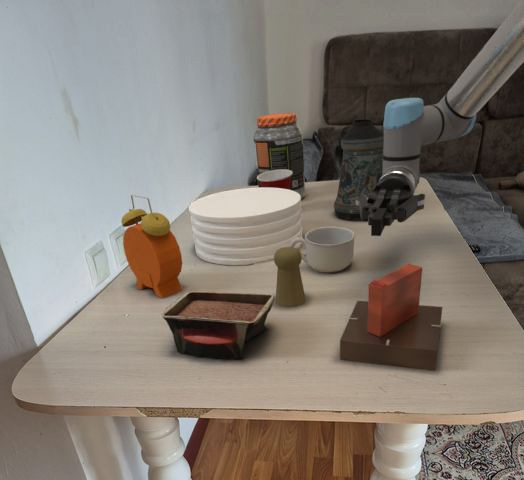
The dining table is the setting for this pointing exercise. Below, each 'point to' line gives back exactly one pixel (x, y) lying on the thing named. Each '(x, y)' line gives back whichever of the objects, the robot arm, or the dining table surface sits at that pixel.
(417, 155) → the robot arm
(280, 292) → the olive pepper shaker
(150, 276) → the alarm clock
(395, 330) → the brown square platform
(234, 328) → the baking dish
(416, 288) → the orange-red rectangular block
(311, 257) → the teacup
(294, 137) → the supplement tub
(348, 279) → the dining table surface
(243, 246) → the plate stack
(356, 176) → the beer stein
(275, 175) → the plastic cup
